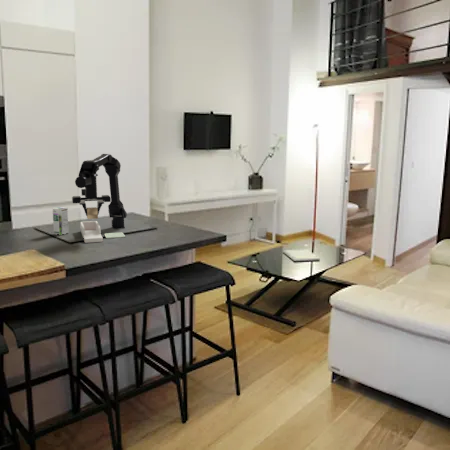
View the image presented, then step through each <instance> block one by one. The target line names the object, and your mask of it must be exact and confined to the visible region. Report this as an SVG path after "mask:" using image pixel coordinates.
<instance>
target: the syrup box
mask: <svg viewBox="0 0 450 450" xmlns="http://www.w3.org/2000/svg"><path fill="white" fill-rule="evenodd" d="M68 212H69V211H68V207H63V206H56V207H52V221H53V222H52V223H53V234H54V235H57V234H59V236H63V235H62V234H64V235H67V234H66V233H68V234H69V215H68Z"/></svg>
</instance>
